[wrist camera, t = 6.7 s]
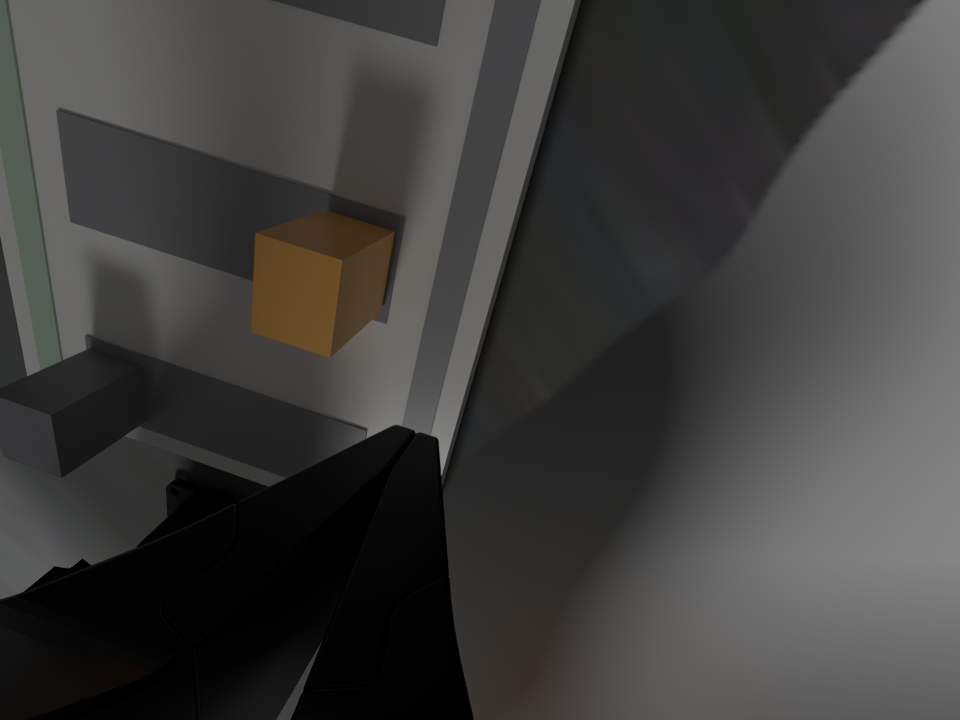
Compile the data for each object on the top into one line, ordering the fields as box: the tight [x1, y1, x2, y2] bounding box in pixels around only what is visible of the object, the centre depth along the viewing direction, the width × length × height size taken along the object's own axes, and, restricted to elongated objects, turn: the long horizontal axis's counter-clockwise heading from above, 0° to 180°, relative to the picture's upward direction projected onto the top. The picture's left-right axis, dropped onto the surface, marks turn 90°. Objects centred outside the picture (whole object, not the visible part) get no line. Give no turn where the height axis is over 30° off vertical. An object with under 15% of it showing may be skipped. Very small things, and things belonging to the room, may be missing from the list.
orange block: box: [251, 210, 395, 358], centre depth 16 cm, size 3×2×4 cm
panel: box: [0, 0, 581, 487], centre depth 17 cm, size 24×20×6 cm
